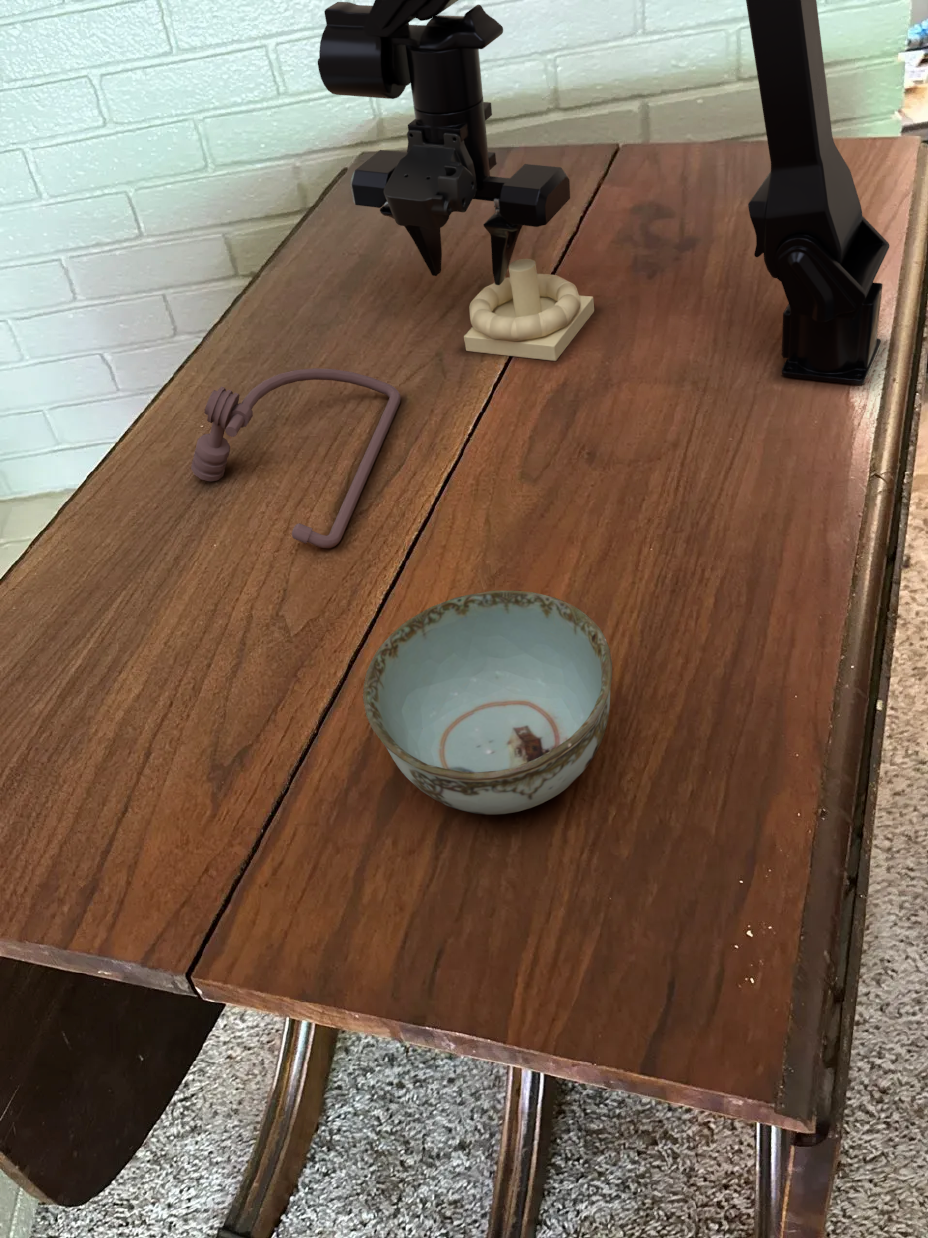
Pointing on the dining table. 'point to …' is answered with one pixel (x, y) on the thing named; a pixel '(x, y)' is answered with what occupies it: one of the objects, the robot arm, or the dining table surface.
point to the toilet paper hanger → (235, 416)
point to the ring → (524, 325)
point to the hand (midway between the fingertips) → (468, 278)
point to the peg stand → (524, 305)
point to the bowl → (492, 699)
